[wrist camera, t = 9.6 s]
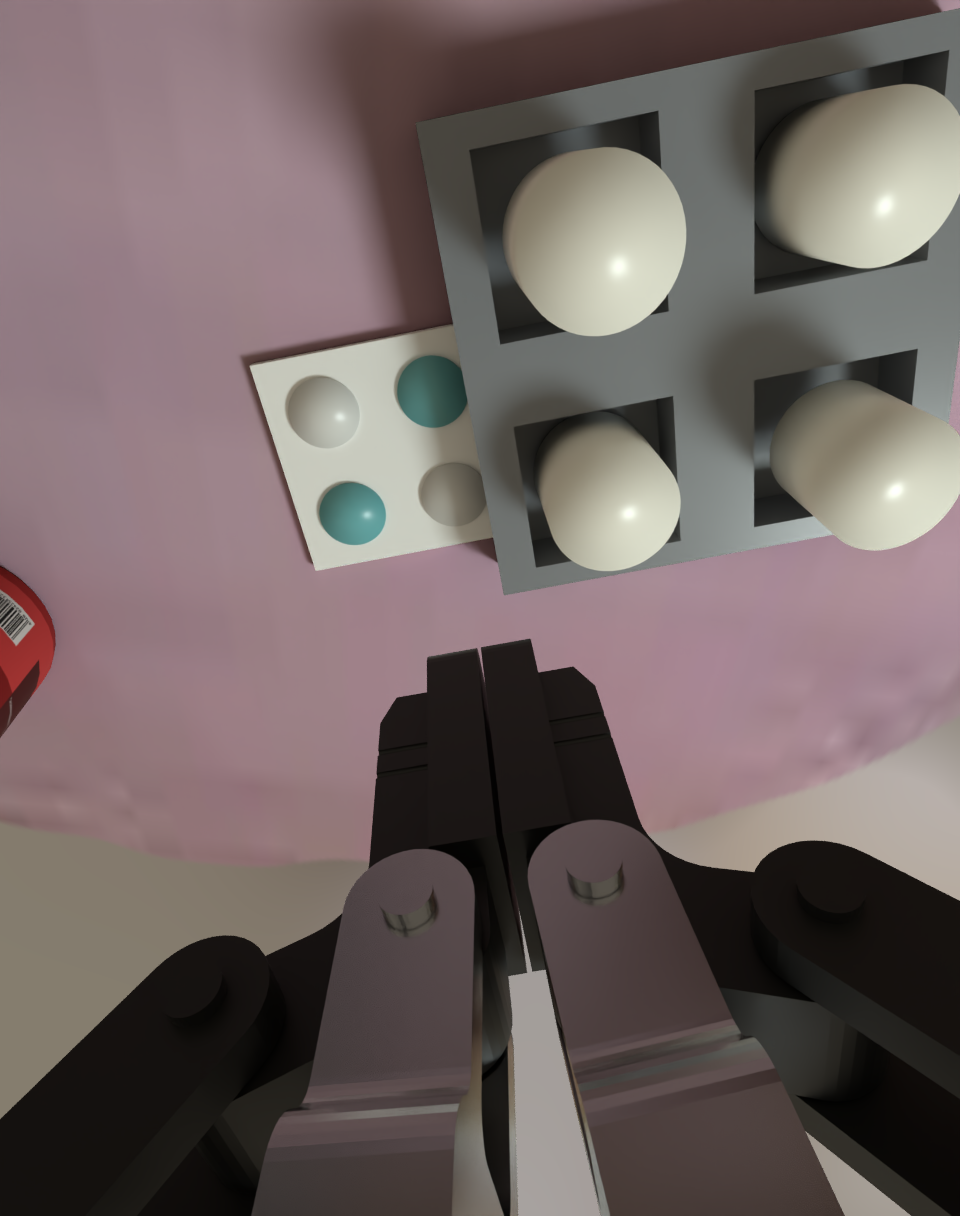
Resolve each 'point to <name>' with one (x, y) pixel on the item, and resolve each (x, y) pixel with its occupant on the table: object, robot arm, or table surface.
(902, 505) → the button
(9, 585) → the canned food
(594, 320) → the button
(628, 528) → the button
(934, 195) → the button
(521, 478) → the board
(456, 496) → the card
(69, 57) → the table surface
